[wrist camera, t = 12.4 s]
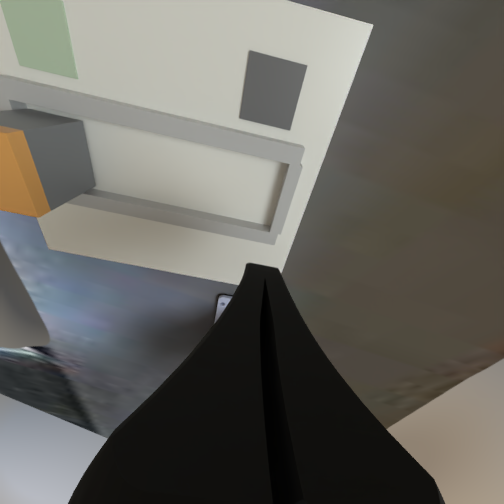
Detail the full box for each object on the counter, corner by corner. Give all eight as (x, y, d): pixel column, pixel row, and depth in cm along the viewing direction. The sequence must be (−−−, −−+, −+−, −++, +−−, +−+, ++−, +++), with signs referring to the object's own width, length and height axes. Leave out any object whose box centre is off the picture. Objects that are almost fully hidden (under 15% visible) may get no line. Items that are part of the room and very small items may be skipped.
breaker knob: (95, 186, 16) (38, 217, 12) (50, 176, 15) (-23, 205, 12) (82, 120, 13) (6, 133, 9) (29, 108, 13) (-72, 116, 9)
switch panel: (274, 280, 22) (274, 299, 20) (61, 239, 21) (39, 255, 19) (362, 31, 12) (382, 19, 10) (-50, -84, 10) (-127, -127, 8)
